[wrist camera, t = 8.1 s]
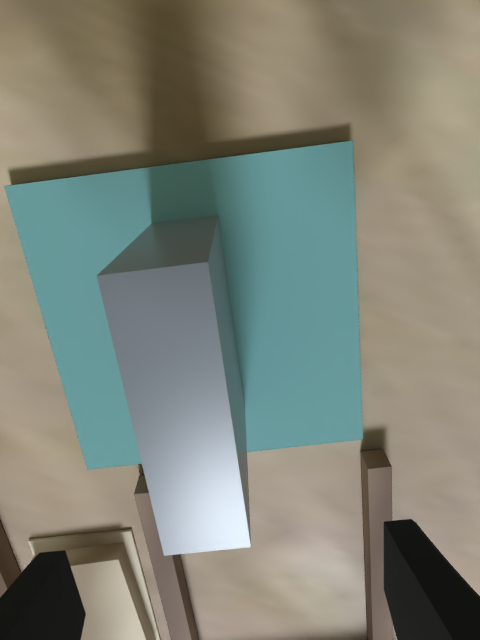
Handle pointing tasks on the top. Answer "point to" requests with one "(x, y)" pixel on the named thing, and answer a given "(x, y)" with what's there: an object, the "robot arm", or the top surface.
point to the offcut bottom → (102, 539)
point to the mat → (243, 282)
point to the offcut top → (109, 594)
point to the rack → (170, 574)
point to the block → (182, 381)
